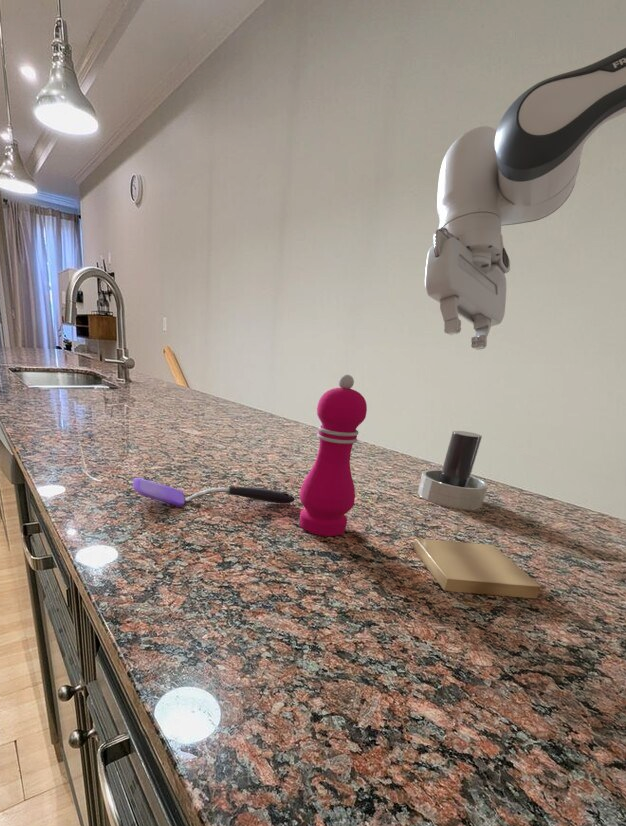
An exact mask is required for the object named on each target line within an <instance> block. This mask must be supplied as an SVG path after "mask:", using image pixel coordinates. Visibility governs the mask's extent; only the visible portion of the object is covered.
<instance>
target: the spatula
mask: <svg viewBox="0 0 626 826" xmlns="http://www.w3.org/2000/svg"><path fill="white" fill-rule="evenodd" d="M132 488H133V490H134V491H135V492H136V493H138V494H139V495H141V496H143V497H145V498H148V499H153V500H156V501H160V502H164V503H167V504H170V505H173V506H176V507H180V508H181V507H184V505H185V504H186V503H190V502H191V501H193V500H194V499H197V498H199V497H201V496H205V495H208V494H215V493H228V494H229V495H231V496H238V497H242V498H247V499H252V500H257V501H262V502H268V503H273V504H274V503H275V504H292V503H293V502H295V497H294V496H293V495H292V494H289V493H286V492H283V491H279V490H273V489H267V488H259V487H249V486H238V485H229V486H228V487H213V488H207V489H204V490H200V491H199V492H198V491H197V492H196V493H194V494H192V495H190V496H187V497H186V496H185V493H184V491H182V490H180V489H178V488H174V487H172V486H168V485H165V484H162V483H158V482H154V481H151V480H148V479H145V478H142V477H134V478H133V482H132Z"/></svg>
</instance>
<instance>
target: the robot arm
mask: <svg viewBox="0 0 626 826" xmlns="http://www.w3.org/2000/svg"><path fill="white" fill-rule="evenodd" d="M625 114H626V47H624V48H623V49H620V50H618V51H616V52H615V53H612V54H610V55H608V56H607V57H604V58H602V59H599V60H597V61H595V62H593V63H591V64H588V65H586V66H583V67H580V68H577V69H574V70H570V71H568V72H564V73H560V74H556V75H554V76H551V77H548V78H545V79H544V80H541V81H539V82H537V83H535V84H534V85H532V86H531V87H529V88H528V89H526V90H525V91H523V93H521V94H520V95H519V96H518V97H517V98H516V99H515V100H514V101H512V103H511V105H510V106H509V107H507V109H506V111H505V113H504V114H503V115H502V117H501V119H500V121H499V123H498V125H497V128H493V127H491V126H488V125H487V126H486V125H485V126H478V127H475V128H473V129H470V130H468V131H466V132H464V133H463V134H461V135H460V136H459V137H458V138H457V139H456V140H455V141H454V142H452V144H451V145H450V147H448V149H447V151H446V153H445V154H444V157H443V159H442V161H441V165H440V169H439V174H438V182H437V194H436V195H437V197H436V213H437V216H438V220H439V225H438V228H437V229H436V231H435V232H434V233H433V235H432V246H430V247H429V249H428V251H427V254H426V255H427V256H426V264H425V273H424V274H425V275H424V288H425V292H426V294H427V296H428V297H429V298H431V299H432V300H434V301H436V302H438V303H439V309H440V313H441V316H442V320H443V322H444V324H443V326H444V330H443V331H444V334H447V335H449V336H454V335H457V334H460V333H461V331H462V320H461V319H460V317H461V318H463V319H464V320H466V321H467V322H469V323H470V324H472V326H473V330H474V334H473V337H471V339H470V341H471V348H472V349H474V350H475V351H480V350H484V349H486V348H487V346H488V345H487V344H488V336H489V333H490V330H491V327H494V326H498V325H500V324H501V323H502V322H503V320H504V317H505V312H506V302H507V301H506V300H507V278H506V275H505V274H507V273H509V272H510V271H511V260H510V257H509V255H508V253H507V251H506V248H505V246H504V242H503V240H504V238H503V234H502V226H511V225H513V226H514V225H519V224H527V223H531V222H536V221H539V220H543V219H545V218H547V217H549V216H550V215H552V214H554V213H555V212H556V211H557V210H559V209H560V208H561V207H562V206H563V205H564V204H565V203H566V201H567V200H568V199H569V198H570V196H571V194H572V192H573V191H574V188H575V184H576V180H577V178H578V177H577V176H578V173H579V169H580V165H581V158H582V154H583V149H584V146H585V144H586V142H587V141H588V140H589V138H590V137H592V135H593V134H594V133H595V132H596V131H597V130H598V129H599V128H600V127H601V126H603V125H605V124H606V123H607V122H609V121H612V120H614V119H615V118H619V117H620V116H622V115H625Z"/></svg>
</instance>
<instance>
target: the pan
mask: <svg viewBox="0 0 626 826" xmlns="http://www.w3.org/2000/svg"><path fill="white" fill-rule="evenodd" d="M441 472H442V469H426V470H424V471H422V472H421V476H420V479H419V483H418V487H417V494H418V496H419V497H421V498H422V499H424V500H425V501H428V502H430V503H433V504H436V505H438V506H442V507H447V508H452V509H458V510H478V509H480V508H482V507H483V506H484V502H485V499H486V495H487V493H488V490H489V484H488V482H486V481H485V480H483V479H482V478H479V477H476V476H474V475H471V476H470V479H469V483H468V486H467V488H466V487H458V486H452V485H448V484H444V483H441V482H439V480H440V476H441Z"/></svg>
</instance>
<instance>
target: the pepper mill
mask: <svg viewBox="0 0 626 826" xmlns="http://www.w3.org/2000/svg"><path fill="white" fill-rule="evenodd" d="M354 383H355V380H354V378H353V376H352V375H350V374H343V375H342V376H341V377H340V378H339V380H338V386H339V387H333V388H331V389H329V390H327V391H326V392H324V393H323V394H322V395H321V396H320V398H319V399H318V402H317V406H316V415H317V417H318V420H319V421H320V423H321V425H318V427H317V430H318V432H317V433H316V437H317V438H318V439H319V445H318V451H317V455H316V458H315V461H314V463H313V465H312V467H311V469H310V470H309V472H308V474H307V475H306V477H305V478H304V479H303V482H302V484H301V487H300V491H299V500H300V501H299V502H300V503H301V504H302V506H303V507H304V508H303V509H302V510H301V511H300V514H299V521H298V522H299V526H300V527H301V529H303V530H304V531H306V532H308V533H311V534H313V535H317V536H322V537H336V536H337V537H338V536H341V535H343V534H344V533H345V532H346V528H347V527H346V526H347V523H348V517H347V516H346V514H347V513H348V512H350V511H351V510H352V508H353V507H354V505H355V501H356V489H355V485H354V480H353V476H352V472H351V471H352V470H351V453H352V449H353V445H354V444H355V443H357V442H358V435H359V433H360V432H359V430H357V428H358V427H359V426H361V424H362V423H363V422H364V421H365V419H366V417H367V411H368V406H367V401H366V399H365V397H364V395H362V393H360V392H359V391H357V390H355V389H353V386H354Z"/></svg>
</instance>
